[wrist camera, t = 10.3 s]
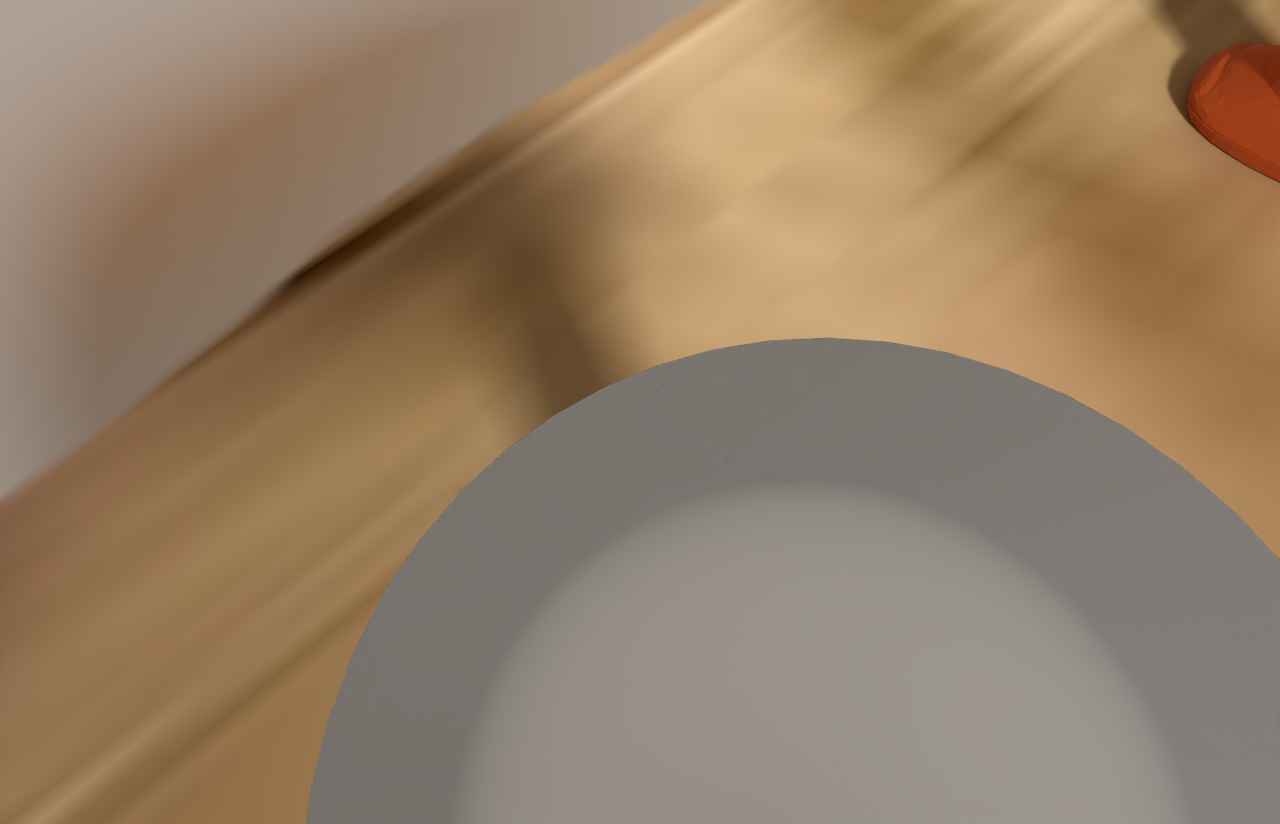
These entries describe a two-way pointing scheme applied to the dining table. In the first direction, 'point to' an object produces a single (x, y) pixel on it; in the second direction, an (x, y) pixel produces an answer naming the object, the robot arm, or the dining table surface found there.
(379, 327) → the dining table surface
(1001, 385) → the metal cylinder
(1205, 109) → the toy drill
